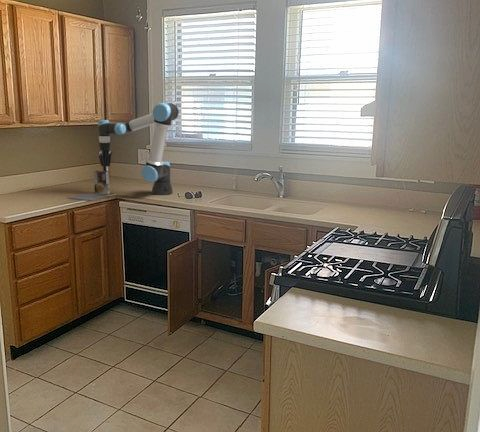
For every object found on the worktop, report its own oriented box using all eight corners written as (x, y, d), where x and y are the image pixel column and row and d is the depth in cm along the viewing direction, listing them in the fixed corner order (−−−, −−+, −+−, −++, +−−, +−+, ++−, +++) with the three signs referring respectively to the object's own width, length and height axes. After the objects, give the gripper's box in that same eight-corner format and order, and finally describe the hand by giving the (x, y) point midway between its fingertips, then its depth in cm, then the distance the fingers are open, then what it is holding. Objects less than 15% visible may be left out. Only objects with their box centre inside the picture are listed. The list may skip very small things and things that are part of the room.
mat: (108, 196, 328) (108, 195, 328) (91, 200, 312) (90, 200, 312) (85, 193, 336) (85, 193, 336) (67, 198, 320) (67, 197, 320)
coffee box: (110, 193, 340) (109, 170, 337) (107, 194, 334) (105, 172, 330) (98, 192, 341) (96, 170, 337) (94, 194, 335) (93, 171, 331)
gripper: (106, 141, 341) (107, 173, 347) (94, 142, 330) (95, 176, 335) (114, 141, 338) (116, 174, 344) (102, 143, 327) (104, 177, 332)
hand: (106, 175), depth 339 cm, fingers closed
